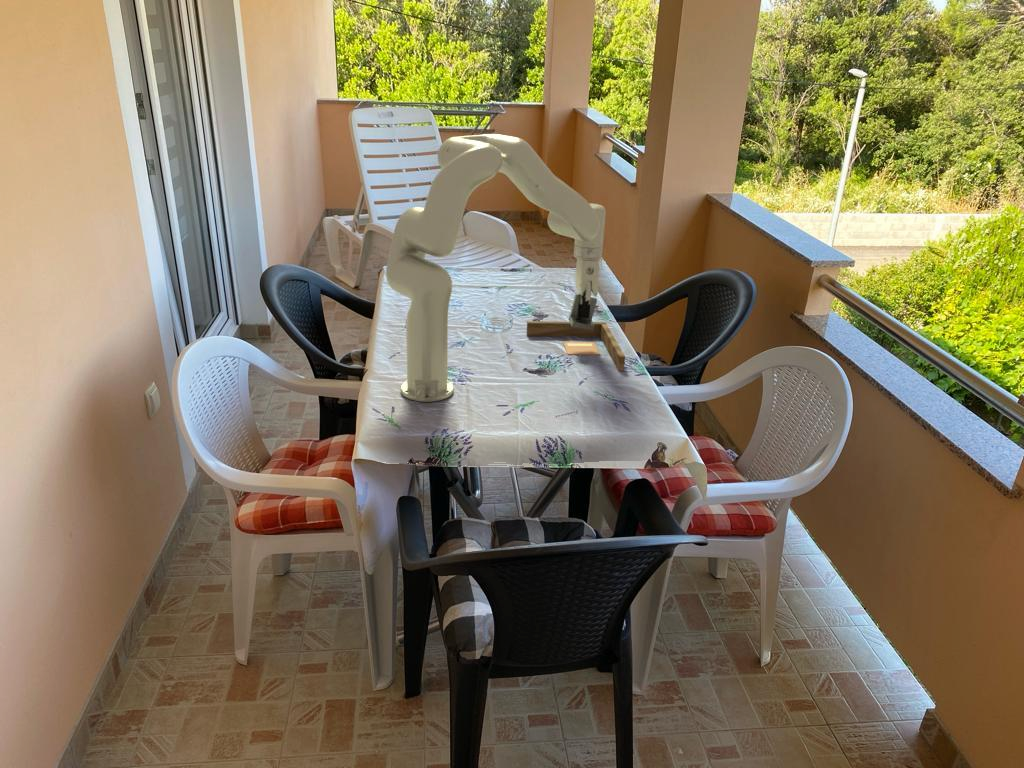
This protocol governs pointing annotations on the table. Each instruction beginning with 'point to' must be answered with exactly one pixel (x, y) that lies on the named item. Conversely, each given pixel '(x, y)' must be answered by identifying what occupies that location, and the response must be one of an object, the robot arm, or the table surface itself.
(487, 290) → the table surface
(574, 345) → the pad
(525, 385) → the table surface
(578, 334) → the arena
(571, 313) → the bracket
